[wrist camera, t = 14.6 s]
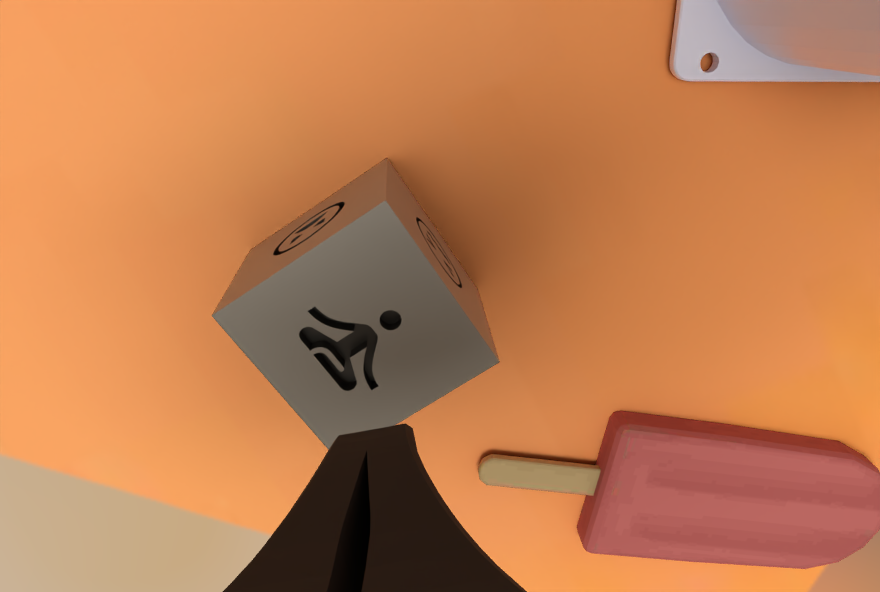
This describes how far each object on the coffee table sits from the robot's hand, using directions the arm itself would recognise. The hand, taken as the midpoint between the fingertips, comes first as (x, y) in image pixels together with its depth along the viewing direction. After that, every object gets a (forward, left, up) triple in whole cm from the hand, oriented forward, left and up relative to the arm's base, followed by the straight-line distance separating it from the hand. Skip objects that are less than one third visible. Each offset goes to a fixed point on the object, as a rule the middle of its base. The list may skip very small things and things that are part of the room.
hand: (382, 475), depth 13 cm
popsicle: (-10, +8, -10) cm, 17 cm away
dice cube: (+1, 0, -10) cm, 10 cm away
